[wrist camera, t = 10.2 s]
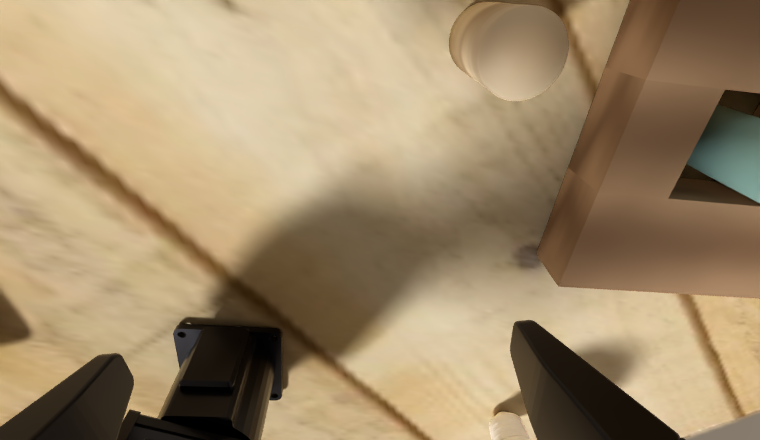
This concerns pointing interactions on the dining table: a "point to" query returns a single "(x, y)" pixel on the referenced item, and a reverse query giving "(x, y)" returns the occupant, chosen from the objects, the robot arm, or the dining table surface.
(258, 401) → the robot arm
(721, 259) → the walnut hole block
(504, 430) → the lightbulb
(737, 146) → the long teal pin
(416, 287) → the dining table surface
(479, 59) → the short beech pin
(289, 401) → the dining table surface
